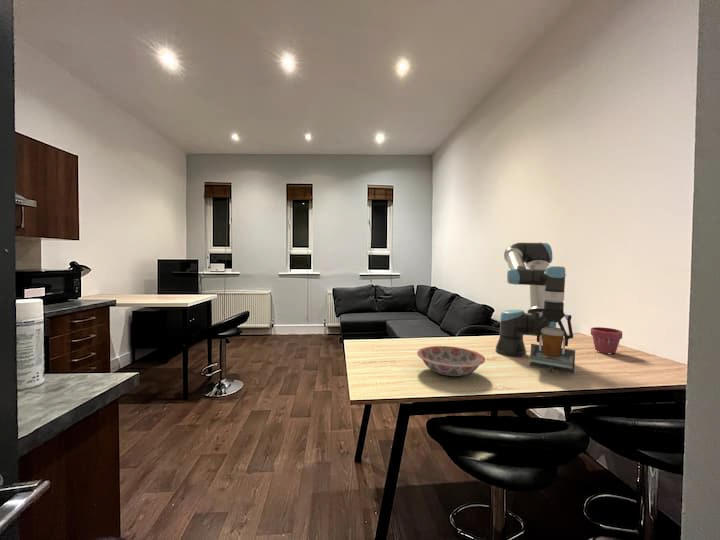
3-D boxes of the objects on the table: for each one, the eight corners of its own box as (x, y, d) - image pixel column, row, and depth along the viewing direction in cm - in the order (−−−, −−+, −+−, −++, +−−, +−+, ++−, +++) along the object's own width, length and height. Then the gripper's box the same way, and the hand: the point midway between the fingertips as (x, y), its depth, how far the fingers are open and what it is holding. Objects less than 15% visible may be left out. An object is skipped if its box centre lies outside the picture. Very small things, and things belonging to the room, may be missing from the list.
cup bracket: (526, 374, 148) (527, 352, 147) (530, 362, 164) (531, 342, 164) (574, 383, 138) (575, 359, 137) (574, 369, 155) (575, 348, 154)
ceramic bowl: (490, 388, 131) (491, 368, 130) (415, 381, 136) (416, 362, 136) (479, 364, 159) (479, 348, 159) (417, 359, 165) (418, 343, 165)
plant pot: (583, 348, 191) (584, 327, 191) (604, 348, 194) (605, 326, 193) (606, 356, 177) (607, 332, 177) (627, 355, 180) (629, 332, 179)
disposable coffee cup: (568, 359, 143) (570, 331, 143) (546, 358, 144) (547, 331, 143) (556, 352, 153) (557, 326, 152) (535, 352, 153) (536, 326, 153)
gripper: (526, 299, 150) (524, 349, 151) (582, 304, 138) (580, 357, 139) (528, 298, 156) (526, 345, 157) (582, 302, 145) (579, 353, 146)
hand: (551, 351), depth 148 cm, fingers closed on disposable coffee cup, 8 cm apart
